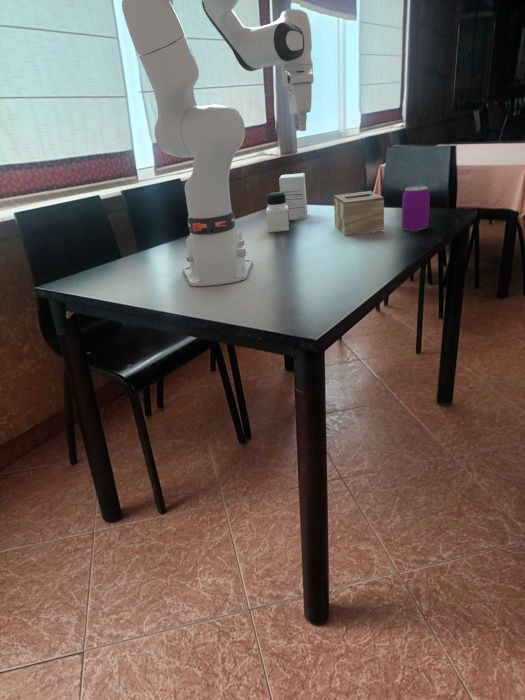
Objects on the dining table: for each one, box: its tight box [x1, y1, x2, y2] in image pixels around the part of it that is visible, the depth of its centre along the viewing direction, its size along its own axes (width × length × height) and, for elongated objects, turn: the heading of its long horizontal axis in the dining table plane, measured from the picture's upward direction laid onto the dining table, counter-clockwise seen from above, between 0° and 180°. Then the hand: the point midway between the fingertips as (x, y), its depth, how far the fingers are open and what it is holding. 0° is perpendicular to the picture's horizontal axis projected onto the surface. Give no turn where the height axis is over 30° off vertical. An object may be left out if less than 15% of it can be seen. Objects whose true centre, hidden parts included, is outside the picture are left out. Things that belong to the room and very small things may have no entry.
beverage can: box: [401, 185, 431, 231], centre depth 146 cm, size 8×8×12 cm
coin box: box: [333, 190, 385, 237], centre depth 154 cm, size 14×12×10 cm
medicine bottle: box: [266, 191, 291, 233], centre depth 165 cm, size 7×7×12 cm
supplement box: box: [278, 172, 308, 221], centre depth 180 cm, size 9×9×15 cm
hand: (300, 130), depth 147 cm, fingers open, 8 cm apart
